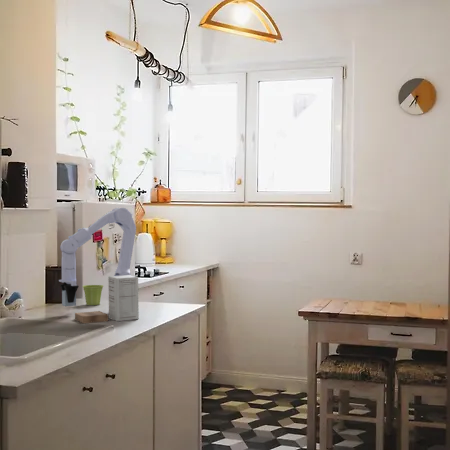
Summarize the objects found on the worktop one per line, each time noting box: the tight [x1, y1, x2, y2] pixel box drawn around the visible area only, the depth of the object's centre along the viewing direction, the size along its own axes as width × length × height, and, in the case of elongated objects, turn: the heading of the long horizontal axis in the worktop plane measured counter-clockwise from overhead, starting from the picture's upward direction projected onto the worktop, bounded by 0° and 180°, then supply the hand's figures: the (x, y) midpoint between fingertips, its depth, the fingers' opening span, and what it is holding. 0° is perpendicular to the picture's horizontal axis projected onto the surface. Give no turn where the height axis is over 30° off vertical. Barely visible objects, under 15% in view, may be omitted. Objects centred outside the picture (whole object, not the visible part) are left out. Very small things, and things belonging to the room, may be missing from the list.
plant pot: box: [82, 284, 104, 306], centre depth 287 cm, size 9×9×9 cm
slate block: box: [61, 290, 77, 307], centre depth 257 cm, size 4×4×6 cm
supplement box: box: [107, 274, 140, 322], centre depth 248 cm, size 10×9×17 cm
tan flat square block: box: [74, 310, 109, 324], centre depth 244 cm, size 10×10×3 cm
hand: (69, 301), depth 257 cm, fingers closed on slate block, 4 cm apart
